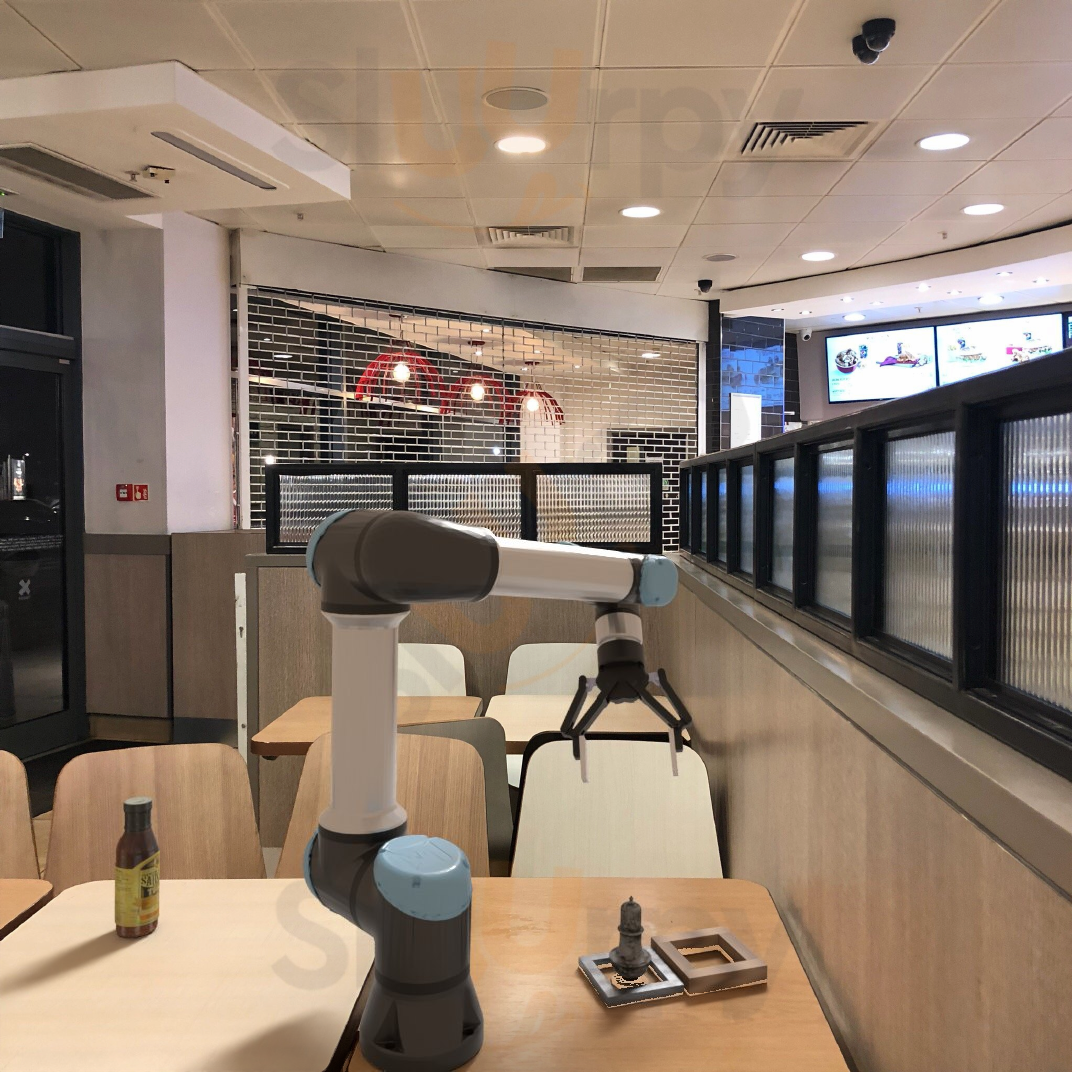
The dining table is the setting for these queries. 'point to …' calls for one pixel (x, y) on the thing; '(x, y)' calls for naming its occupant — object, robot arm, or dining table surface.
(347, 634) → the robot arm
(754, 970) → the walnut holder block
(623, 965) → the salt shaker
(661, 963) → the metal collar
